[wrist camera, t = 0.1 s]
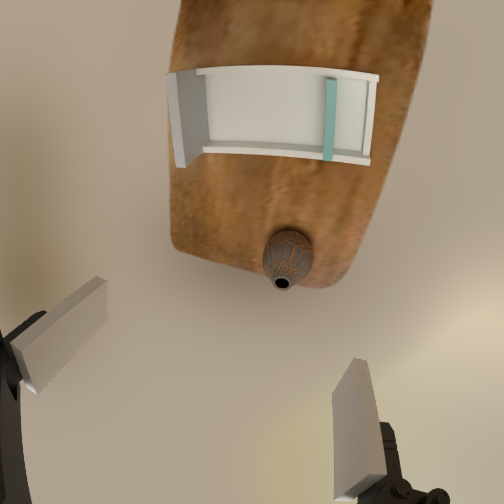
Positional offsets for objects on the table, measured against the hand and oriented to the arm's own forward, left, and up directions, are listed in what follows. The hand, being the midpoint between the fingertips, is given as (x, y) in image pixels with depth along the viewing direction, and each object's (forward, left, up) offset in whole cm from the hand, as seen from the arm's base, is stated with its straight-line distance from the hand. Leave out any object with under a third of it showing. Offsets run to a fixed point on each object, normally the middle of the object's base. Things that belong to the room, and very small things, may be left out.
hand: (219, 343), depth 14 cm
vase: (+7, +12, -28) cm, 31 cm away
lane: (-2, -6, -28) cm, 28 cm away
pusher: (-7, -3, -27) cm, 28 cm away
